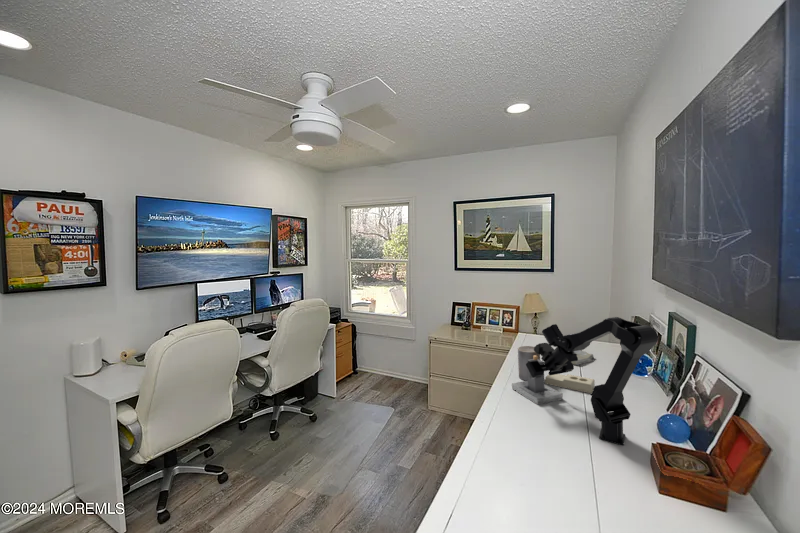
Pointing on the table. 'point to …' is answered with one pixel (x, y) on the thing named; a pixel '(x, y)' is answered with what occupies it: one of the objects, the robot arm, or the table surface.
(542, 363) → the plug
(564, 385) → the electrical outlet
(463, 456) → the table surface
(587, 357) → the fossil
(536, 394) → the socket plate
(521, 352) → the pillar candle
